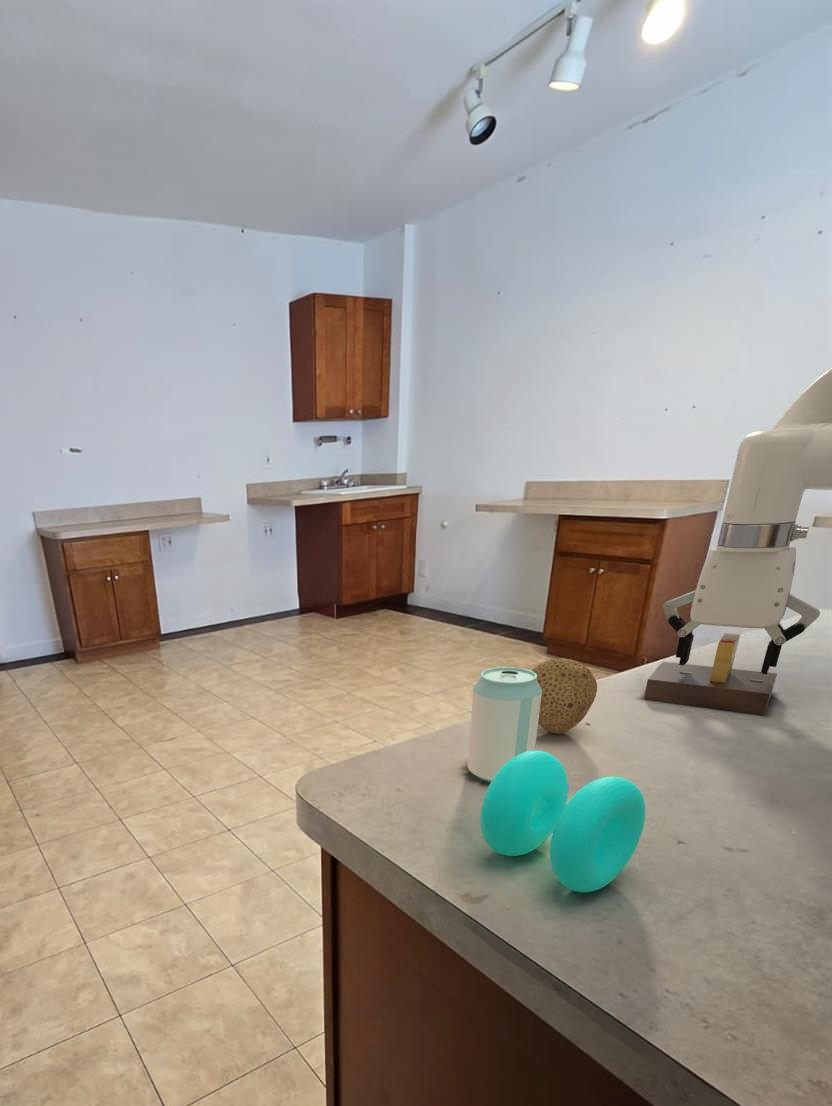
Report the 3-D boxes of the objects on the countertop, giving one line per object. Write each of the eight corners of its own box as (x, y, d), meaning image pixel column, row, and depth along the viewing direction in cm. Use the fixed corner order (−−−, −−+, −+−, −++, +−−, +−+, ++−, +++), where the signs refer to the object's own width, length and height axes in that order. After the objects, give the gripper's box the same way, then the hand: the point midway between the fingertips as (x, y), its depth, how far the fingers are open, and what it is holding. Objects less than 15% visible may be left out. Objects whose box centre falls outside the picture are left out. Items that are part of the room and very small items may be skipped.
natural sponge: (522, 746, 80) (531, 670, 76) (506, 721, 88) (513, 651, 84) (599, 745, 79) (612, 667, 75) (575, 719, 87) (585, 648, 83)
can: (456, 765, 77) (462, 669, 72) (509, 757, 78) (519, 661, 73) (487, 790, 70) (496, 687, 65) (544, 781, 72) (558, 678, 67)
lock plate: (771, 693, 90) (777, 672, 89) (764, 715, 84) (770, 692, 82) (658, 680, 99) (662, 660, 98) (643, 699, 92) (647, 678, 91)
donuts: (538, 827, 63) (550, 733, 59) (640, 872, 55) (662, 768, 51) (469, 862, 58) (477, 764, 54) (569, 917, 51) (588, 807, 46)
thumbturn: (715, 670, 92) (725, 631, 89) (730, 672, 91) (740, 632, 88) (709, 681, 88) (719, 640, 86) (725, 683, 87) (735, 641, 85)
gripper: (844, 533, 79) (804, 667, 86) (681, 533, 89) (657, 653, 97) (843, 540, 74) (800, 683, 81) (670, 540, 84) (646, 666, 92)
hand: (722, 666), depth 89 cm, fingers open, 9 cm apart
